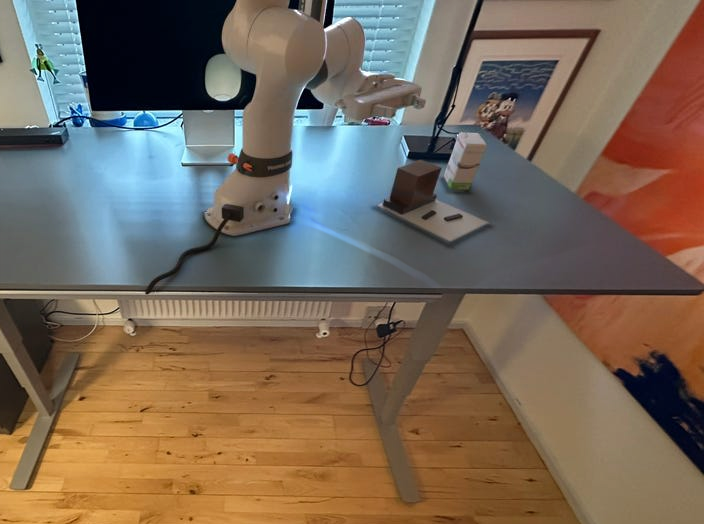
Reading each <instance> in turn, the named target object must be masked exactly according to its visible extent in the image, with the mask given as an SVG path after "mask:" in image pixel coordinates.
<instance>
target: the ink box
mask: <svg viewBox="0 0 704 524" xmlns="http://www.w3.org/2000/svg"><path fill="white" fill-rule="evenodd" d="M487 146H488V144H487V143H486V142H485V140H484V138H482V136H481V134H480V133H479V132H463V131H461V132H459V133H458V134H457V137H456V141H455V143H454V147H453V149H452V152H451V155H450V158H449V159H448V163H447V166H446V169H445V172H444V175H443V177H444V179H445V181H446V183H447V186H448V188H449V189H450V190H463V191H464V190H465V191H466V190H467V191H468V190H470V189H471V187H472V184H473V182H474V179H475V177H476V174H477V172H478V169H479V167H480V164H481V162H482V159H483V157H484V154H485V151H486V149H487Z"/></svg>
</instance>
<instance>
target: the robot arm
mask: <svg viewBox="0 0 704 524" xmlns="http://www.w3.org/2000/svg"><path fill="white" fill-rule="evenodd" d="M290 1H291V0H236V1H235V4H234V6H233V8H232V10H231V11H230V12H229V13H228V15H227V17H226V18H225V20H224V23H223V26H222V31H221V43H222V48H223V51H224V53H225V55H226V57H227V58H228V59H229V60H230V61H231V62H232V63H233V64H234V65H235V66H237V67H238V68H239V69H241V70H243V71H244V72H247V73H250V74H253V75H255V77H256V82H255V88H254V92H253V97H252V98H251V101H250V102H249V103H247V105H246V106H245V107H244V109H243V111H242V127H241V128H242V140H241V141H242V147H241V149H240V151H239V154H238V155H235V153H233V152H230V153H229V154H228V156H227V162H228V163H230V164H232V165H234V166H235V169H233V171H232V172H231V173H230V174H229V175H228V176H227V178H226V179H224V181H223V182H222V183H221V184H220V185H219V186H218V187H217V188H216V189H215V191H214V195H213V203H212V206H210V207H208V208H207V209H208V210H206V209H205V210H206V211H207V212H205V211H204V219H205V221H206V222H207V224H209V225H210V226H211V227H212V228H214V229H215V232H214V235H213V237H212V239H211V241H210V242H208V243H206V244H205V245H203V246H197V247H193V248H189V249H187V250H185V251H183V252H182V253H181V255H179V258H178V261H177V263H176V265H175V266H174V267H173V268H171V270H169V271H167V272H164V273H162V274H160V275H158V276H156V277H155V278H153V279H152V280H151V281H150V283H149V284H148V286H147V287H146V290H145V292H144V294H145V295H150V294H151V292H152V290H153V289H154V287H155V286H156V285H157V284H158V283H159V282H160V281H163V280H164V279H167V278H169V277H171V276H173V275H175V274H176V273H177V272H178V271H179V270H180V269H181V268H182V264H183V262H184V260H185V258H186V257H187V256H188V255H190V254H193V253H199V252H203V251H204V252H205V251H206V250H209V249H211V248H212V247H214V245H215V244H216V243H217V241H218V239H219V236H220V234H221V233H223V234H225V235H228V236H232V237H238V236H243V235H246V234H251V233H254V232H258V231H262V230H266V229H267V230H268V229H271V228H275V227H278V226H283V225H287V224H290V223H291V214H292V213H293V210H294V207H293V202H292V190H293V184H291V169H292V167H293V151H294V149H293V148H292V142H293V132H294V123H295V116H296V110H297V107H298V103H299V100H300V98H301V96H302V93H303V91H304V89H306V90H310V92H311V94H312V95H313V97H314V98H315V99H316V100H317V101H319V102H320V103H322V104H324V105H325V106H329V107H331V108H335V109H341V111H340V112H341V114H342V115H344V116H346V118H349V119H352V120H354V121H358V122H359V121H364V120H365V121H366V120H368V119H372V118H374V117H376V118H377V117H378V118H386V119H392V118H394V117H396V113H397V111H399V110H402V109H405V108H408V107H411V106H412V107H413V109H415V110H421V109H424V108H425V106H426V102H427V101H426V99H425V98H421V95H422V86H420V84H417V83H415V82H412V81H409V80H406V79H404V78H397V77H396V74H394V73H391V72H390V73H387V72H386V73H375V72H369V71H364V70H362V68H363V65H364V59H365V52H366V46H367V45H366V43H367V39H366V32H365V29H364V27H363V26H362V24H361V22H359V21H358V20H357V19H356V18H354V17H352V16H346V17H343V18H342V19H340V20H338V21H336V22H334V23H332V24H329V25H328V26H327V27H325V28H324V23H325V18H326V17H325V16H326V9H327V4H328V0H298V1H299V2H298V9H293V8H289V4H290Z"/></svg>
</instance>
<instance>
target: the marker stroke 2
mask: <svg viewBox="0 0 704 524" xmlns="http://www.w3.org/2000/svg"><path fill="white" fill-rule="evenodd" d="M462 217H463V215H461V214H455V215H451V216H448V217H444V220H446V221H451V220H455V219H459V218H462Z"/></svg>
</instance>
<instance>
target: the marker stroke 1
mask: <svg viewBox="0 0 704 524" xmlns="http://www.w3.org/2000/svg"><path fill="white" fill-rule="evenodd" d="M435 214H436V211H433V210H431V211H430V212H428V213H427V214H425V215H423V216H422V219H424V220H427V219H428V218H430V217H431V216H433V215H435Z"/></svg>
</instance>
